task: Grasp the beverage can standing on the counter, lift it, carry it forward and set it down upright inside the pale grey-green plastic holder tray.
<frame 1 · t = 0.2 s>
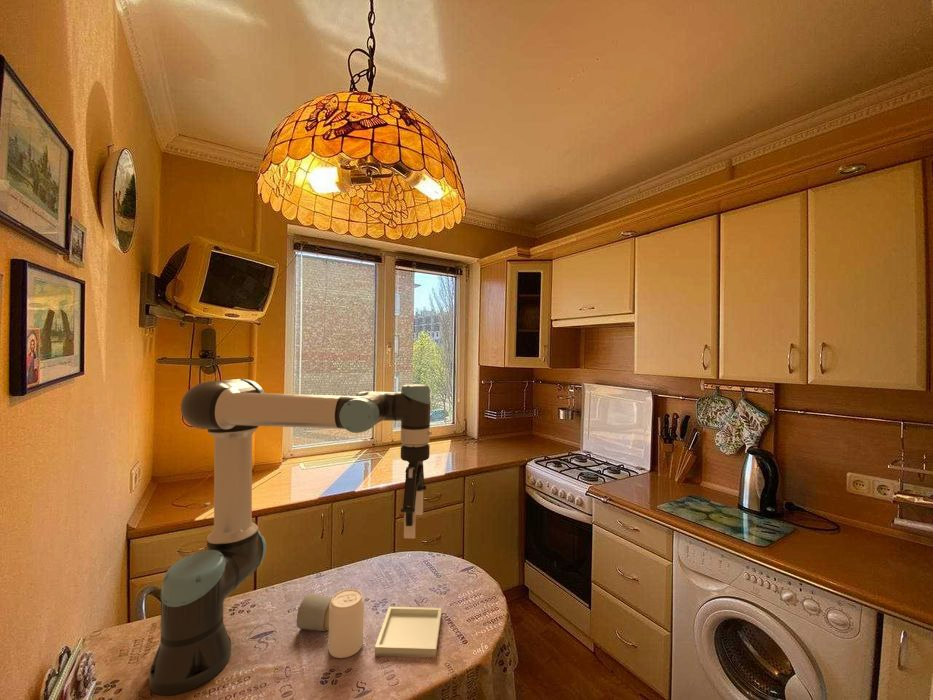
hand: (414, 525, 98), 27 cm above the table, fingers open, 13 cm apart
beverage can: (345, 648, 92), on the table
holder tray: (410, 634, 97), on the table
ceramic mug: (319, 623, 100), on the table
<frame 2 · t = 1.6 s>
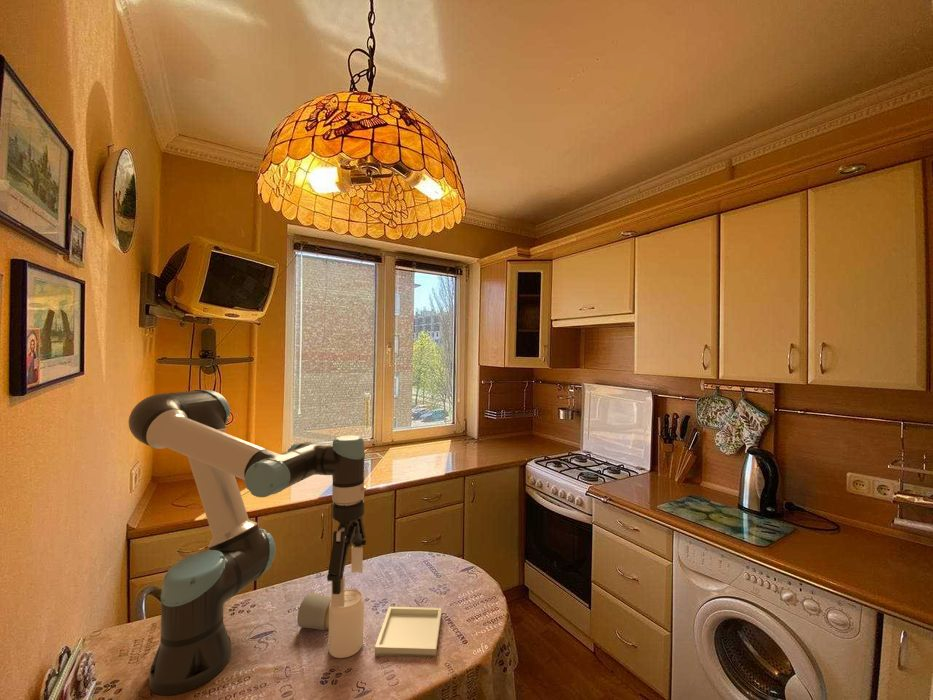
hand: (348, 587, 92), 14 cm above the table, fingers open, 13 cm apart
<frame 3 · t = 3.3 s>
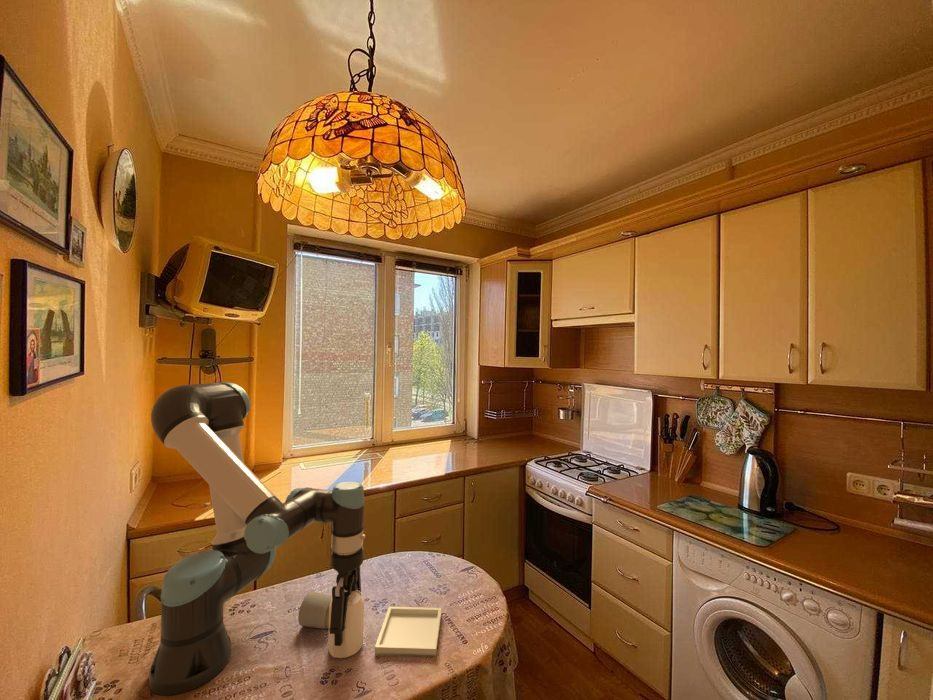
hand: (346, 641, 92), 1 cm above the table, fingers closed on beverage can, 8 cm apart
beverage can: (345, 648, 92), on the table, touching gripper
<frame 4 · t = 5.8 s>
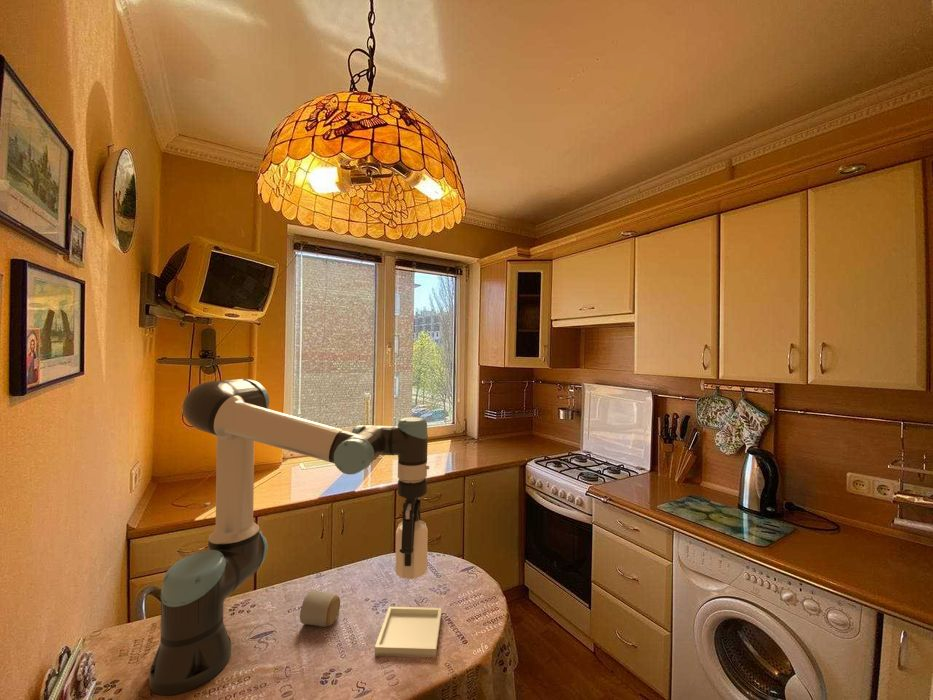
hand: (411, 567, 97), 17 cm above the table, fingers closed on beverage can, 8 cm apart
beverage can: (411, 572, 97), point 16 cm above the table, touching gripper
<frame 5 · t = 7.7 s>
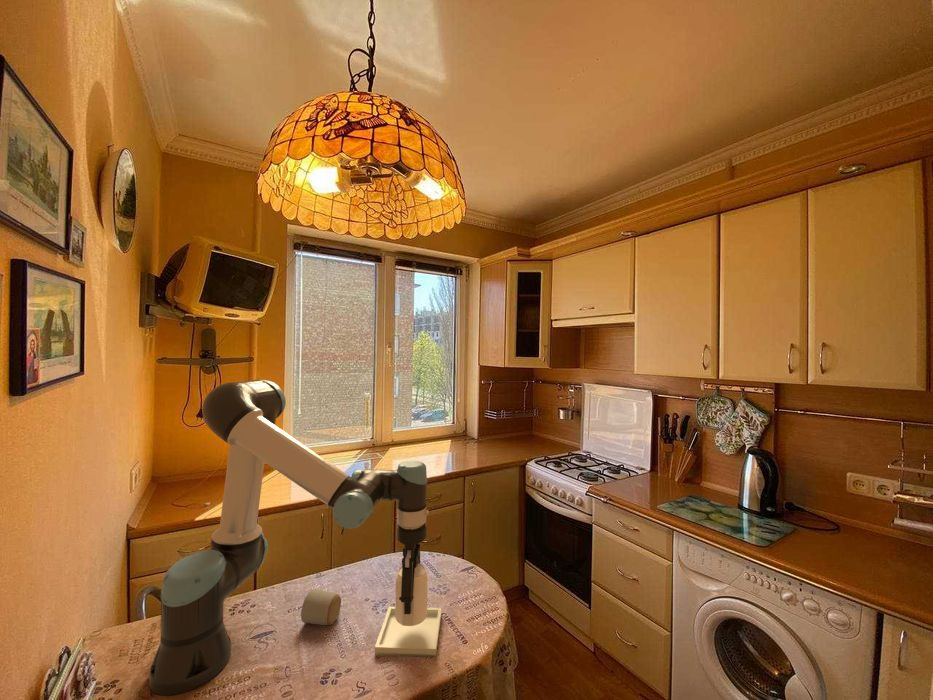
hand: (411, 612, 97), 5 cm above the table, fingers closed on beverage can, 8 cm apart
beverage can: (411, 618, 97), point 4 cm above the table, touching gripper
when the fingers open (3 cm above the table, at t = 8.7 s): beverage can drops 1 cm, resting on holder tray.
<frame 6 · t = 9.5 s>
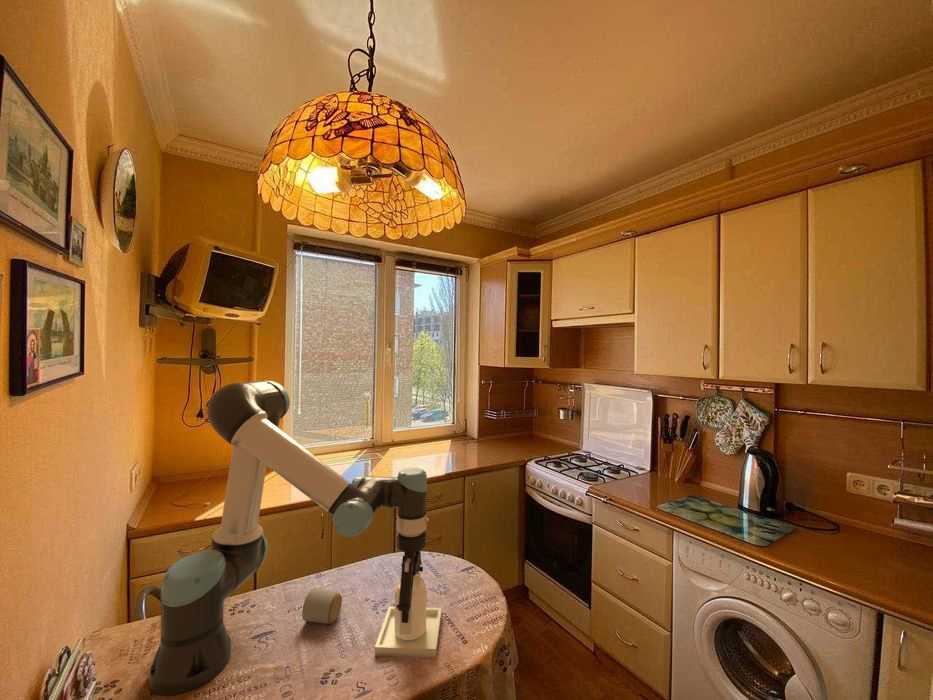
hand: (410, 614, 97), 5 cm above the table, fingers open, 13 cm apart
beverage can: (410, 631, 97), point 1 cm above the table, touching holder tray
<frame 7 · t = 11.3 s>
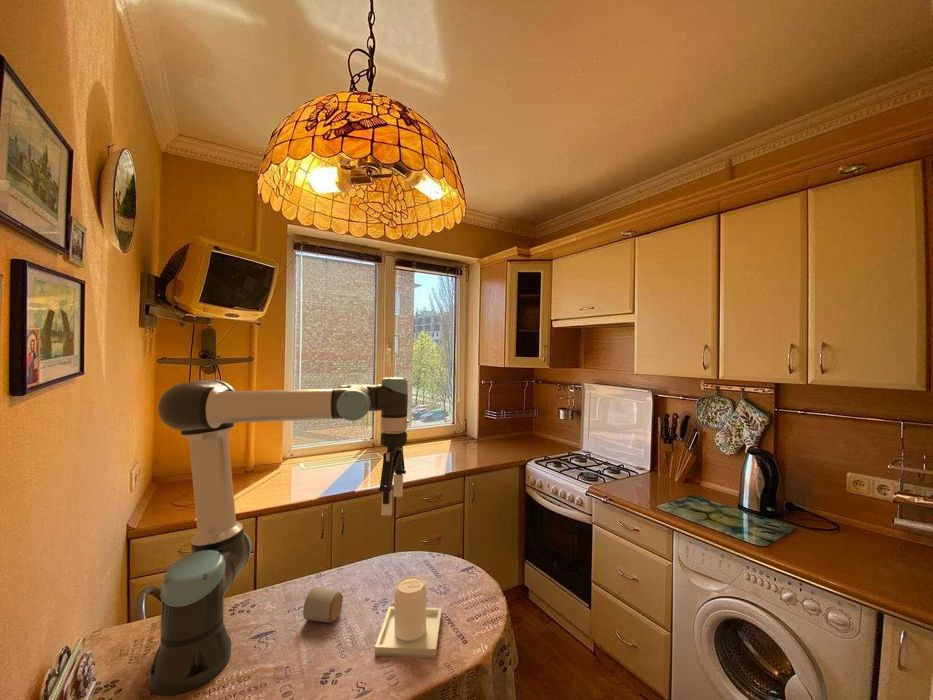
hand: (392, 505, 108), 28 cm above the table, fingers open, 13 cm apart
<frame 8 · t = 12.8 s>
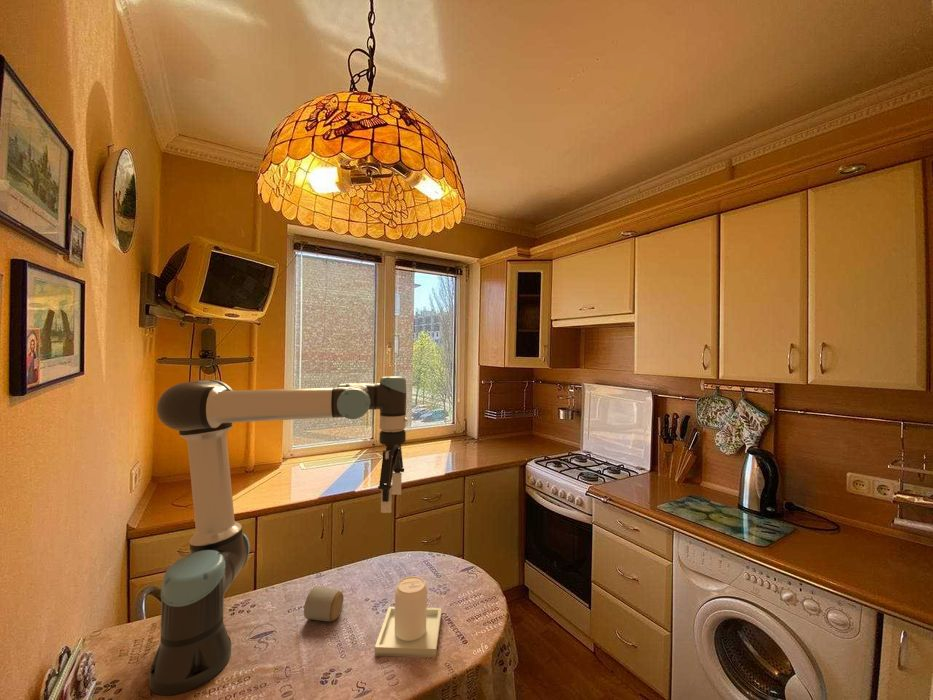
hand: (391, 502, 109), 29 cm above the table, fingers open, 13 cm apart
at the end: beverage can inside the target area on the holder tray (0.0 cm from its centre), point 0.4 cm above the holder tray's base; beverage can tilted 0°; the gripper is holding nothing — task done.
